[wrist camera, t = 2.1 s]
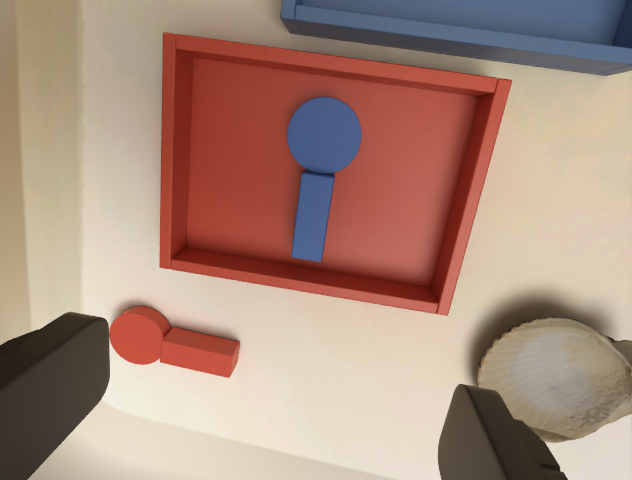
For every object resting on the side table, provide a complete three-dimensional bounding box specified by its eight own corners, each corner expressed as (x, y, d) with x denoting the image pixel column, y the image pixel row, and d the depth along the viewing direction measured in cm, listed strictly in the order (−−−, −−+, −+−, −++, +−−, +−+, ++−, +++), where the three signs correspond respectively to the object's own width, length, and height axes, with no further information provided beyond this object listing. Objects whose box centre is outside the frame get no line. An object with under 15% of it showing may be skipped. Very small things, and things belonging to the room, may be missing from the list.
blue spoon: (295, 93, 18) (289, 90, 17) (366, 103, 18) (368, 101, 17) (277, 245, 21) (271, 254, 19) (341, 256, 20) (340, 265, 19)
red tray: (180, 252, 22) (158, 267, 19) (187, 44, 19) (162, 31, 16) (436, 294, 21) (448, 316, 19) (490, 86, 18) (513, 79, 15)
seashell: (468, 304, 23) (476, 429, 23) (474, 317, 20) (483, 459, 20) (626, 302, 21) (632, 441, 21) (658, 316, 18) (666, 477, 18)
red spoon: (117, 349, 24) (102, 363, 23) (119, 300, 23) (103, 312, 22) (235, 375, 24) (227, 392, 23) (242, 327, 23) (235, 341, 22)
